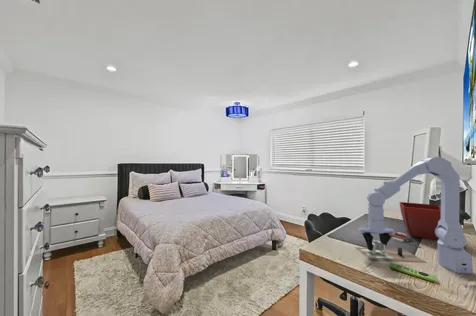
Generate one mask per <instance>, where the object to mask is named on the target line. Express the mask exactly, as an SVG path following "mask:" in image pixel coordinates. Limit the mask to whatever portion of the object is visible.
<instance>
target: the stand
mask: <svg viewBox="0 0 476 316" xmlns="http://www.w3.org/2000/svg"><path fill="white" fill-rule="evenodd" d="M354 249H356V250H357V251H358V252H360V253H361V254H362V255H363V256H364V257H366V258H367V259H368V260H369V261H371V262H394V263H422V264H423V263H424V264H425V263H428V261H425V260H423V259H422V258H420V257H419V256H417V255H414V253H411V252H410V251H407V250H406V249H404V248H402V247H400V246H398V247H397V248H394V247H393V248H392V247H391V248H390V247H389V248H388V247H386V254H383V253H381V252H380V251H378V250H375V253H376V254H373V253H372V252H370V251H369V250H368V249H367V247H354Z"/></svg>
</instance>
